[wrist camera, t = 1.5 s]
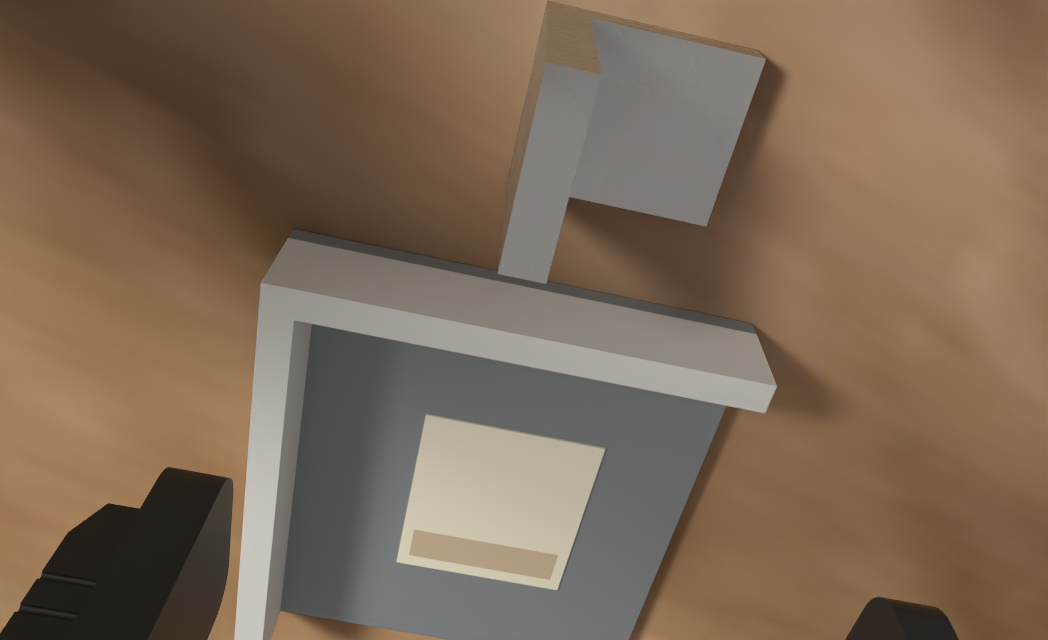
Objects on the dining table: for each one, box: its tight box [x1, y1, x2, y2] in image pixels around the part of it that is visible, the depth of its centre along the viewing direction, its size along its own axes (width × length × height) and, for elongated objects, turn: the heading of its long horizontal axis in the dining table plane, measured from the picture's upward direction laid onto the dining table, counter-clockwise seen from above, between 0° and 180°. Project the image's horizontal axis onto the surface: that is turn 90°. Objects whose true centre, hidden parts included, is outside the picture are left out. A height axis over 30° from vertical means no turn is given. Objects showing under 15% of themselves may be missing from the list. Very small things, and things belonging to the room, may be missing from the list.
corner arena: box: [234, 229, 777, 640], centre depth 36 cm, size 18×20×4 cm
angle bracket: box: [498, 1, 766, 284], centre depth 27 cm, size 7×6×8 cm
